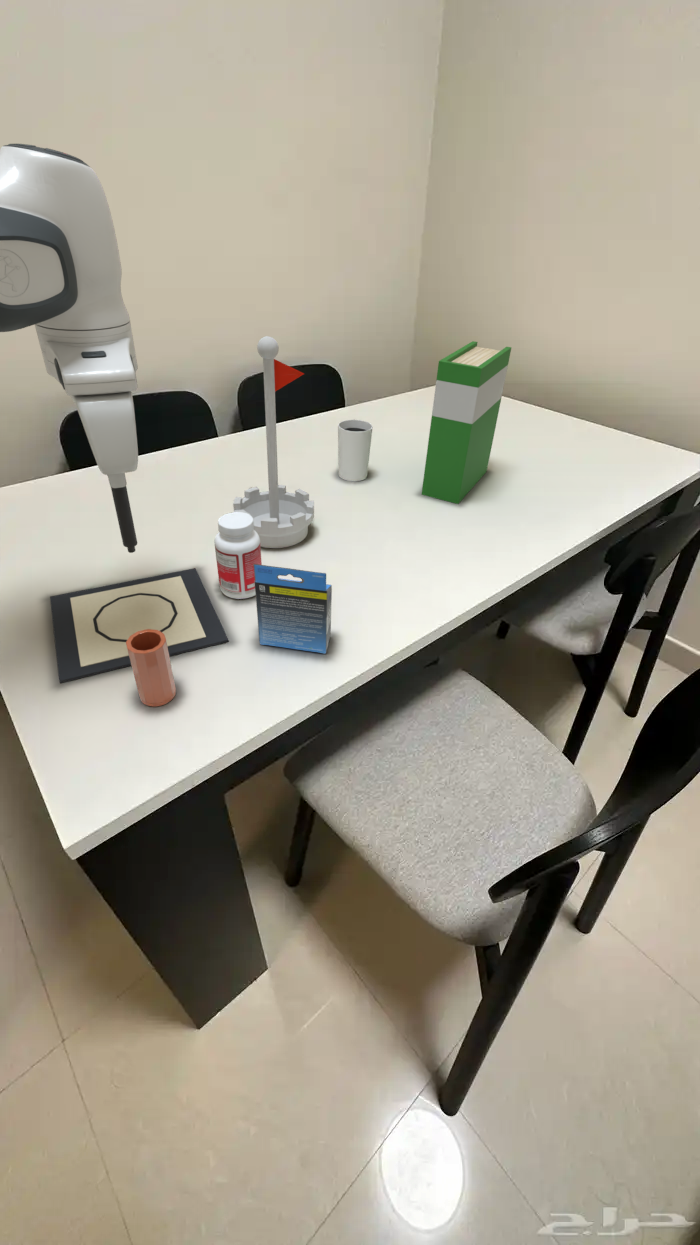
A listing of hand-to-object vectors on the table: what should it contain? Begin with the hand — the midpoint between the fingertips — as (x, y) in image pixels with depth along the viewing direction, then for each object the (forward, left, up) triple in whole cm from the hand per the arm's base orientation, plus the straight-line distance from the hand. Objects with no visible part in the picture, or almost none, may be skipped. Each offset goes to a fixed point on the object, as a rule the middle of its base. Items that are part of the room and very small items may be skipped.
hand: (116, 480), depth 68 cm
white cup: (+46, +30, -19) cm, 58 cm away
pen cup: (-1, -17, -19) cm, 25 cm away
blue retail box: (+17, -14, -19) cm, 29 cm away
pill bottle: (+14, 0, -19) cm, 23 cm away
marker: (0, 0, -10) cm, 10 cm away
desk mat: (-1, -2, -19) cm, 19 cm away
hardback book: (+64, +20, -19) cm, 69 cm away
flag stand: (+24, +14, -19) cm, 33 cm away
